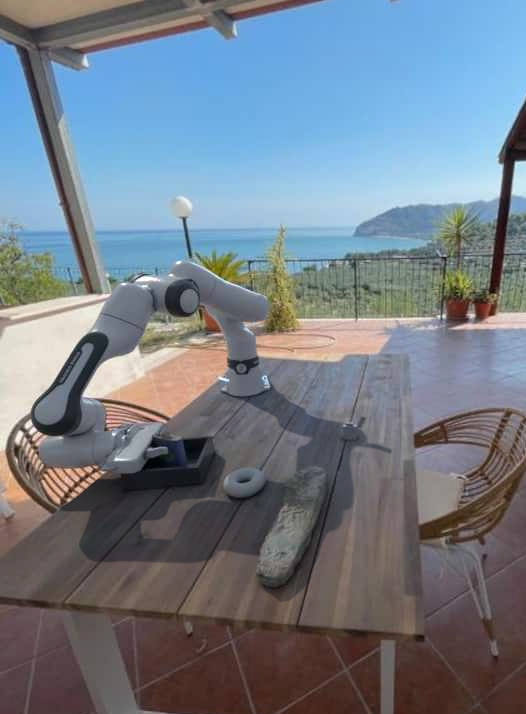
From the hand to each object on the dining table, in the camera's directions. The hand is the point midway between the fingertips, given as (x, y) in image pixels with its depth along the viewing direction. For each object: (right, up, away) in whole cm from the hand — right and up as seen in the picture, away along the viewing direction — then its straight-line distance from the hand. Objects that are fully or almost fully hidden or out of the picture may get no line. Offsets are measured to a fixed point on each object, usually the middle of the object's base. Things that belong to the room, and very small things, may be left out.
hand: (171, 444), depth 101 cm
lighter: (+47, -1, +18) cm, 51 cm away
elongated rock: (+35, -15, -16) cm, 41 cm away
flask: (-1, -6, +2) cm, 7 cm away
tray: (-1, -7, +3) cm, 8 cm away
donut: (+21, -10, -5) cm, 23 cm away
